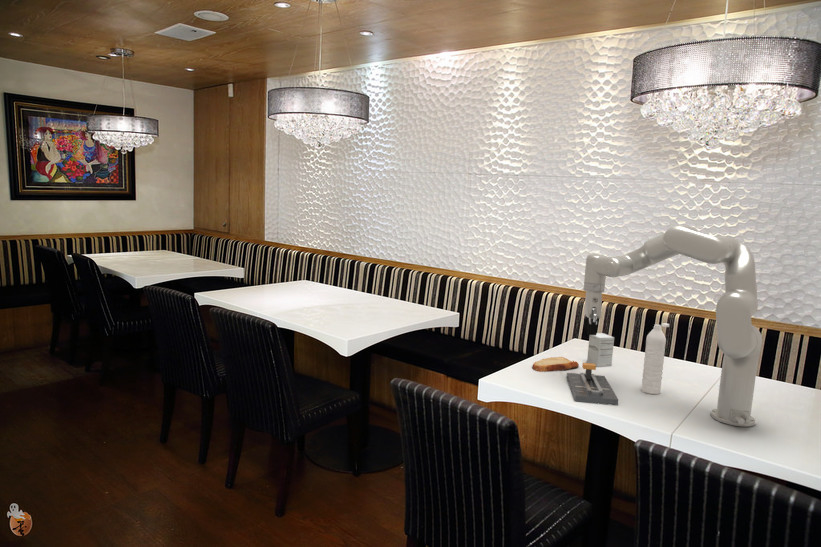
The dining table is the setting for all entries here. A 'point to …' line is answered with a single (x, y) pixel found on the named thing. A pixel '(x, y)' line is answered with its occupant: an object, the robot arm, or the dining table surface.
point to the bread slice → (554, 364)
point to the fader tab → (588, 369)
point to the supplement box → (600, 349)
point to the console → (591, 389)
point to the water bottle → (654, 360)
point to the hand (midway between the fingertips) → (589, 331)
